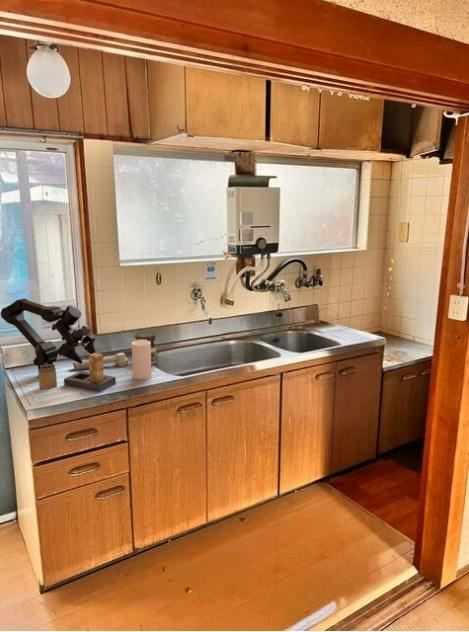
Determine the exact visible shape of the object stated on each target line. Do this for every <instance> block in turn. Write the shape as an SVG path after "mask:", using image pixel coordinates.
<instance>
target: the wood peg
mask: <svg viewBox="0 0 469 632" xmlns="http://www.w3.org/2000/svg"><path fill="white" fill-rule="evenodd" d="M103 357H104V355H103V353H97V352H96V353H93V354H89V355H88V360H89V368H88V369H89V372H90V381H92V382H100V381H102V380H104V375H105V374H104V373H105V372H104V364H103Z"/></svg>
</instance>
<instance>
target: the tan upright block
mask: <svg viewBox="0 0 469 632" xmlns="http://www.w3.org/2000/svg"><path fill="white" fill-rule="evenodd" d="M53 365H54V364H53ZM53 365H51V364H45V365H40V369H39V370H38V369H37V370H38V372H39V373H38V372H37V373H38V376H39V379H38V383H39V384H38V385H39V387H38V388H39V389H40V390H45V389H48V390H49V389H53V388H56V387H57V386H58V381H57V369H56V367H55V368H54V367H52V366H53ZM48 366H51V368H48ZM43 367H46V368H44V369H42V368H43Z"/></svg>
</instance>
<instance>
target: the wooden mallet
mask: <svg viewBox="0 0 469 632" xmlns="http://www.w3.org/2000/svg"><path fill="white" fill-rule="evenodd" d="M81 360H82V359H81ZM110 363H115V365H116V367H125V366H127V365H128V364H129V358H128V357H127V356H126V353H125V352H119V353H116V354H114V355H108V356H103V365H105V364H110ZM73 369H74V371H80V370H81V371H82V370H83V371H84V370H85V369H89V359H83V360H82V363H81V364H80V363H78V362H76V361H73Z"/></svg>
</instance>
